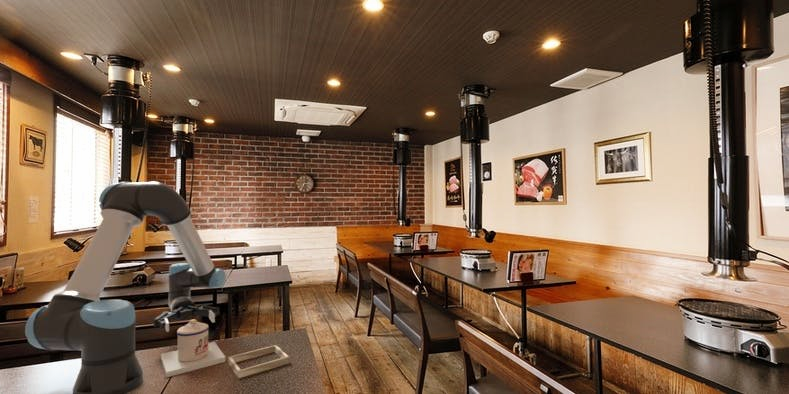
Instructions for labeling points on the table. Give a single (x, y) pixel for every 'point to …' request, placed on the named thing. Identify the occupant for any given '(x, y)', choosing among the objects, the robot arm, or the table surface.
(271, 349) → the cup holder
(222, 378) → the table surface
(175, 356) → the ceramic board
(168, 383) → the table surface
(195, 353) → the teacup with lid
